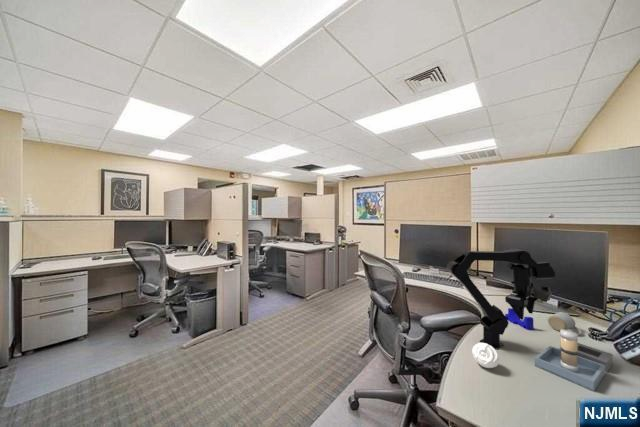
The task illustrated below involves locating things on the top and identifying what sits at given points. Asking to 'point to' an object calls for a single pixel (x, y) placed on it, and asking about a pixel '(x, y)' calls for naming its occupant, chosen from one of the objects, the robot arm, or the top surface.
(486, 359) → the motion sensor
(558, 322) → the ceramic mug
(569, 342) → the fuse
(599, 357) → the fuse holder
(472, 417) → the top surface
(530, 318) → the blue angular block
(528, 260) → the robot arm
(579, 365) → the parts tray
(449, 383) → the top surface
